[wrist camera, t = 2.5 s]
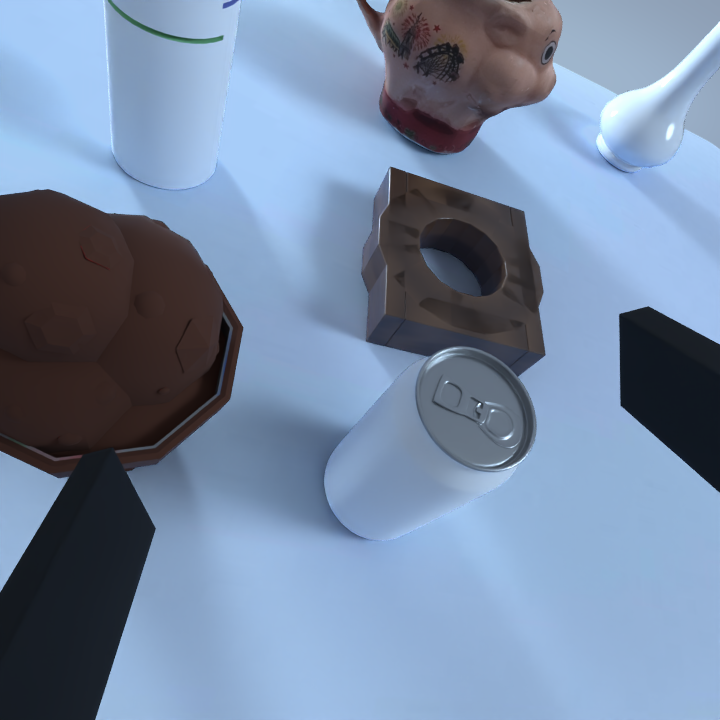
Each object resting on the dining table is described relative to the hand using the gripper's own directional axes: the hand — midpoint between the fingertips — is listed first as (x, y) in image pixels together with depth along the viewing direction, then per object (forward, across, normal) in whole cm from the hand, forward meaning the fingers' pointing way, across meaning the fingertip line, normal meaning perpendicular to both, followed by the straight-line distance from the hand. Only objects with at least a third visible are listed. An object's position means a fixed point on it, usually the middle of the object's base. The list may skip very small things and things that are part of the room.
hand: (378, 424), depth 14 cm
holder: (+28, +8, -7) cm, 30 cm away
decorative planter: (+44, +11, +5) cm, 46 cm away
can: (+14, -1, -13) cm, 19 cm away
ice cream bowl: (+14, -14, -5) cm, 20 cm away
